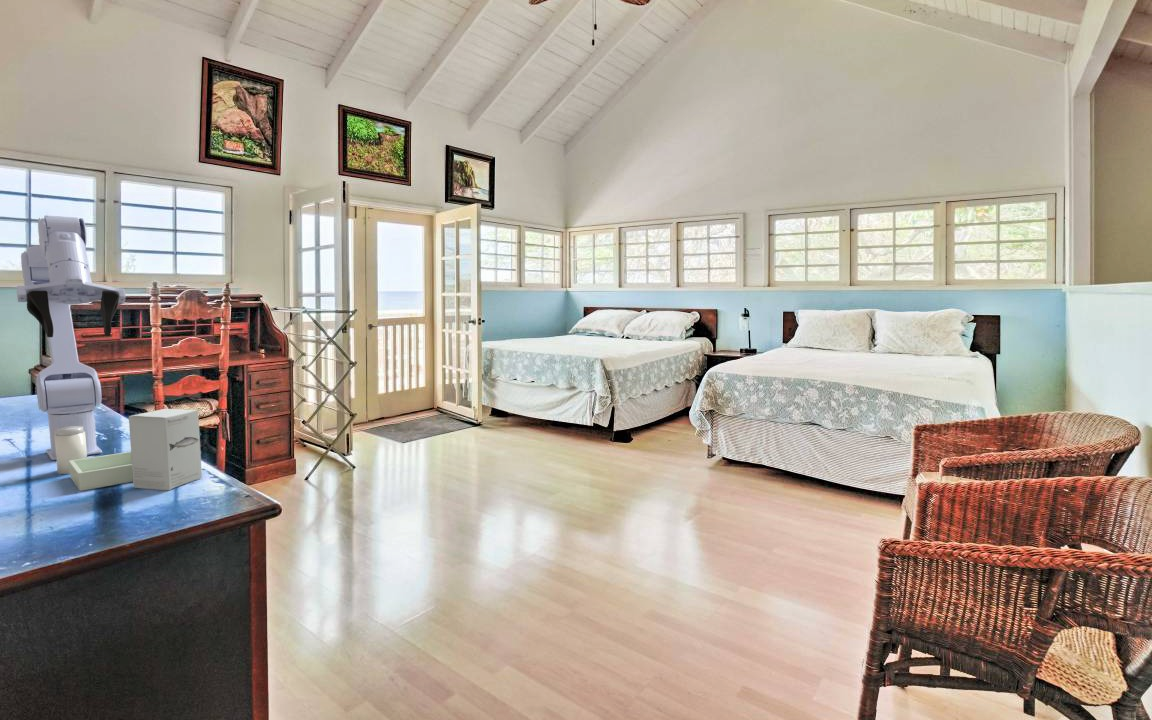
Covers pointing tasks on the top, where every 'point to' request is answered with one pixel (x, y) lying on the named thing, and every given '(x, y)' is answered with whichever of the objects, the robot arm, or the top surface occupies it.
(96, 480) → the tray
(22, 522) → the top surface
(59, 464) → the shaker
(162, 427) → the supplement box
